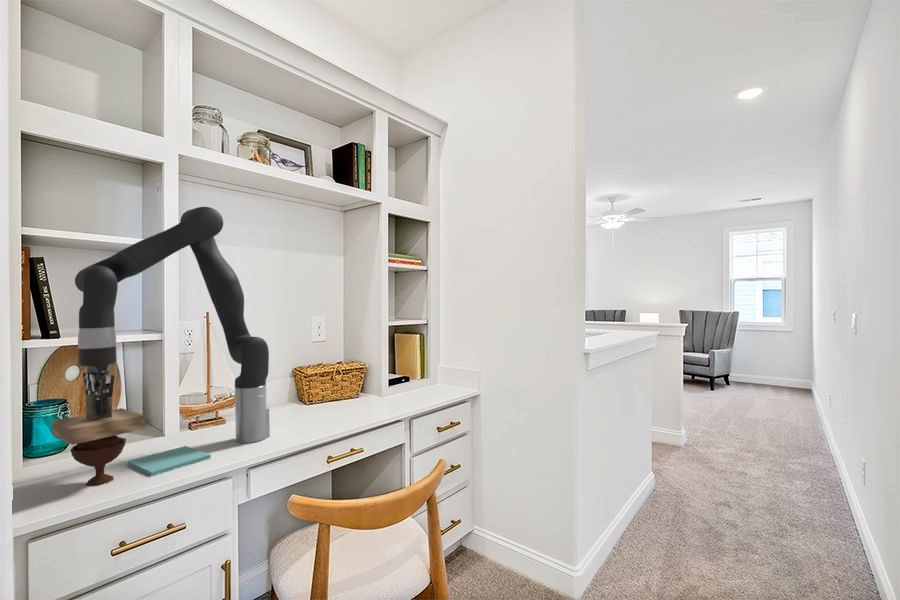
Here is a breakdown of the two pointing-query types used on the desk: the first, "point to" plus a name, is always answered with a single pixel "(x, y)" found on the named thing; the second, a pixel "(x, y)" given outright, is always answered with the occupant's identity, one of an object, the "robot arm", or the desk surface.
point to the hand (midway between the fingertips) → (98, 413)
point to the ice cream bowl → (98, 456)
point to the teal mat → (168, 460)
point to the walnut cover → (97, 423)
